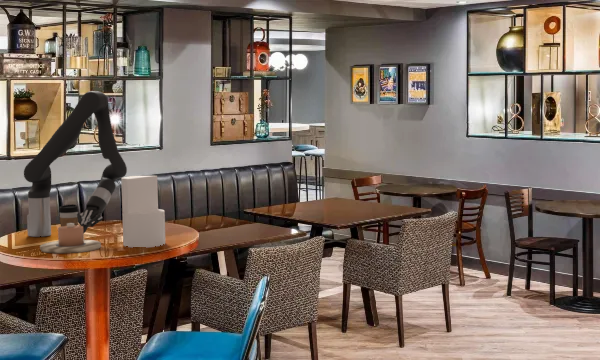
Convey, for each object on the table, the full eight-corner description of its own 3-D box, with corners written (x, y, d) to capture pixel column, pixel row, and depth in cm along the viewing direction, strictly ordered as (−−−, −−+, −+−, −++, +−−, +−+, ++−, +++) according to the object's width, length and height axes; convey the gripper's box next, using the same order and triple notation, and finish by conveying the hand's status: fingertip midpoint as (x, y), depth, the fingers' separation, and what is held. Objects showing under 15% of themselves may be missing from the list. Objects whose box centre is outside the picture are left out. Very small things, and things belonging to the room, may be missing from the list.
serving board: (27, 251, 332) (27, 248, 332) (61, 242, 355) (61, 238, 355) (80, 254, 325) (80, 250, 325) (111, 244, 348) (111, 240, 348)
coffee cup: (83, 238, 363) (82, 204, 362) (72, 241, 355) (71, 207, 354) (67, 238, 366) (65, 204, 364) (55, 241, 358) (54, 206, 356)
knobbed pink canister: (53, 245, 337) (52, 224, 336) (67, 241, 346) (67, 221, 345) (74, 246, 334) (74, 225, 333) (88, 242, 343) (88, 222, 342)
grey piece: (114, 245, 346) (112, 178, 343) (144, 239, 360) (142, 175, 357) (144, 249, 336) (142, 180, 333) (174, 242, 350) (172, 176, 348)
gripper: (82, 194, 354) (63, 227, 345) (106, 195, 349) (88, 228, 339) (91, 205, 360) (72, 237, 350) (115, 206, 354) (97, 239, 344)
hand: (80, 233), depth 344 cm, fingers closed
